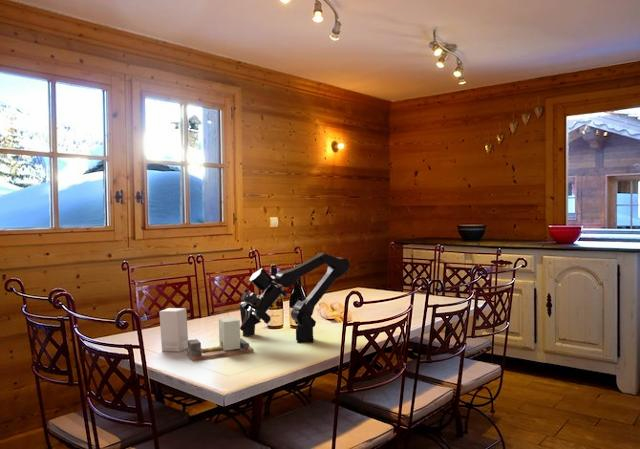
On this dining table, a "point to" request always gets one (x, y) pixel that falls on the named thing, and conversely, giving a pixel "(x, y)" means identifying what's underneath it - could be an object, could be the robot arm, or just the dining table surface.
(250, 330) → the drinking cup
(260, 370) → the dining table surface
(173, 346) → the skincare box
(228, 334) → the tall pale green box
